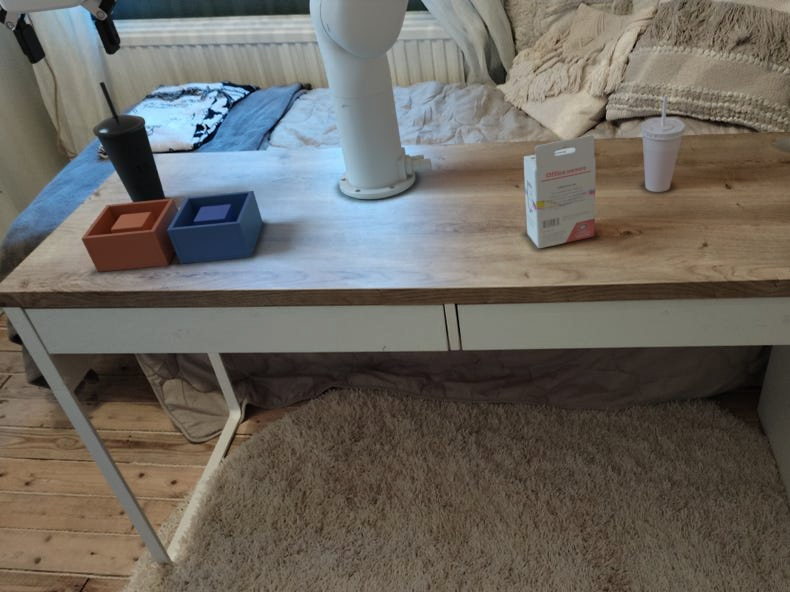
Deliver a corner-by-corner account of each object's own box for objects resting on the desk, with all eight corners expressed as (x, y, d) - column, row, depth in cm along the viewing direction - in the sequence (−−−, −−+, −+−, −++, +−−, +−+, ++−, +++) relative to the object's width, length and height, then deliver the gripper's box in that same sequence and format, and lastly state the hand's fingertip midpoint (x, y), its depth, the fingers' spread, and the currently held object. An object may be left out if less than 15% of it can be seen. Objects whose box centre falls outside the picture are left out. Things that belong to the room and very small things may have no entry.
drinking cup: (117, 211, 117) (63, 89, 104) (153, 191, 122) (105, 72, 109) (149, 219, 114) (97, 93, 101) (184, 198, 119) (139, 76, 106)
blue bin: (263, 223, 110) (253, 190, 106) (250, 257, 102) (239, 223, 98) (197, 229, 110) (185, 197, 106) (180, 263, 102) (166, 230, 98)
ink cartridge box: (581, 221, 102) (583, 121, 93) (595, 237, 99) (598, 135, 89) (525, 233, 101) (521, 133, 92) (537, 250, 97) (534, 147, 88)
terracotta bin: (186, 230, 110) (174, 198, 106) (167, 265, 102) (153, 231, 98) (121, 237, 110) (106, 204, 106) (97, 272, 102) (81, 238, 98)
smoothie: (634, 195, 107) (641, 103, 99) (637, 176, 112) (644, 87, 103) (678, 196, 106) (688, 103, 97) (679, 178, 111) (689, 87, 102)
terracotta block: (162, 238, 107) (151, 211, 104) (153, 253, 104) (141, 226, 101) (132, 241, 107) (121, 214, 104) (123, 256, 104) (110, 229, 101)
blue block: (240, 230, 107) (231, 204, 104) (233, 245, 104) (224, 218, 101) (210, 233, 107) (200, 206, 104) (203, 248, 104) (193, 221, 101)
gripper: (-89, -90, 76) (-5, 73, 87) (70, -109, 76) (135, 57, 87) (-54, -99, 82) (21, 55, 93) (95, -117, 82) (152, 39, 93)
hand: (76, 56), depth 90 cm, fingers open, 9 cm apart
